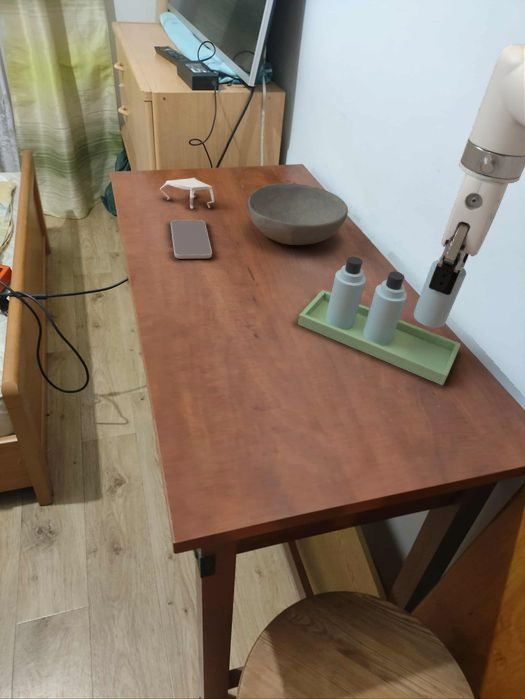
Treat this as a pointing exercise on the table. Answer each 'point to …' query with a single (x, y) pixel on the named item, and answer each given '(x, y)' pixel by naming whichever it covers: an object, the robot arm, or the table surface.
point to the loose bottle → (437, 300)
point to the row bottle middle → (385, 309)
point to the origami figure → (189, 188)
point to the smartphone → (190, 239)
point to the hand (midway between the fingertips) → (444, 281)
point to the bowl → (296, 213)
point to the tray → (403, 351)
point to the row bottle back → (346, 294)
